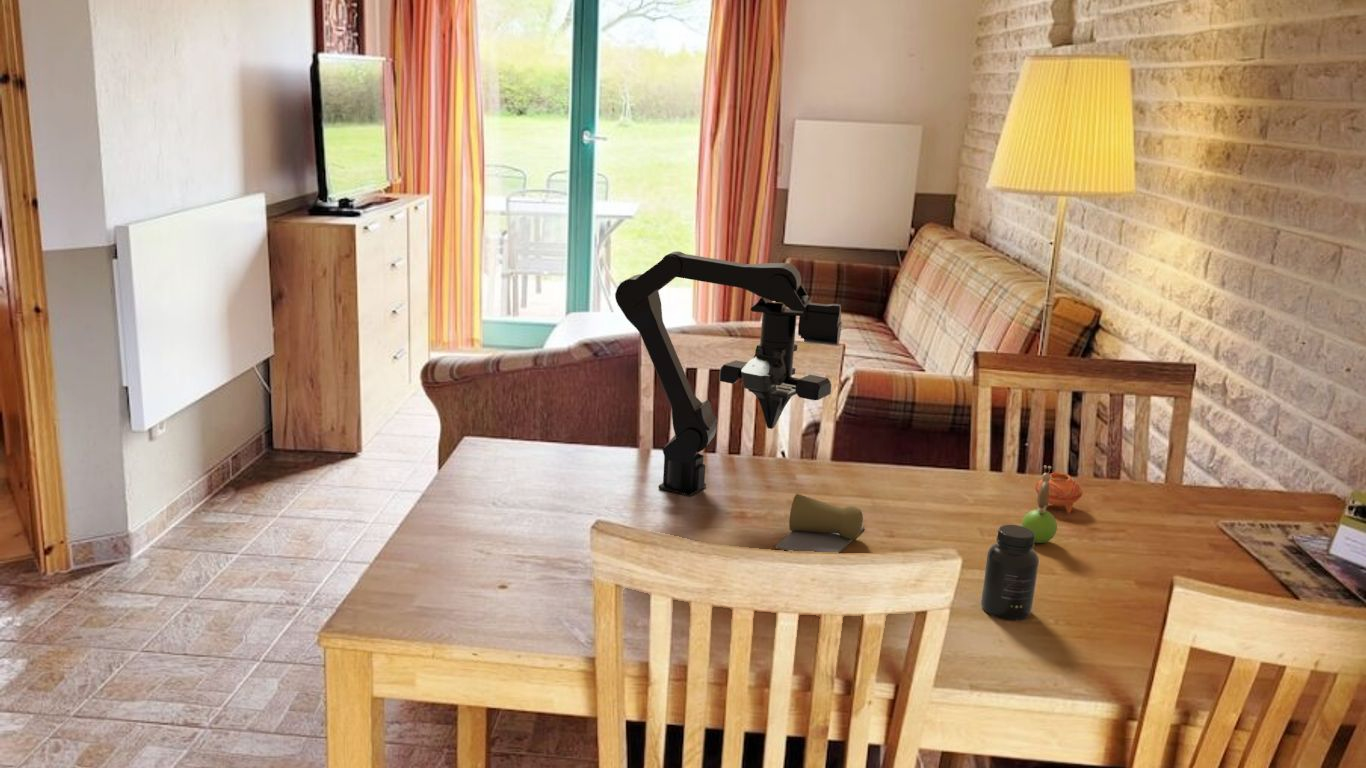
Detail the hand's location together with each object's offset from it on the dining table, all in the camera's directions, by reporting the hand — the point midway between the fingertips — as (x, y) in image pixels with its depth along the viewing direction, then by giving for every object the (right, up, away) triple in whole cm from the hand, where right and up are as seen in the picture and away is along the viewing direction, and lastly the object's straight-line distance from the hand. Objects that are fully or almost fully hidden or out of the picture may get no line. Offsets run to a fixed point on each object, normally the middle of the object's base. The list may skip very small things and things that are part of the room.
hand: (770, 428), depth 183 cm
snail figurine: (+43, -18, -8) cm, 47 cm away
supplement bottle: (+30, -24, -34) cm, 51 cm away
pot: (+51, -15, +7) cm, 54 cm away
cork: (+3, -13, -10) cm, 17 cm away
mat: (+7, -17, -12) cm, 22 cm away
